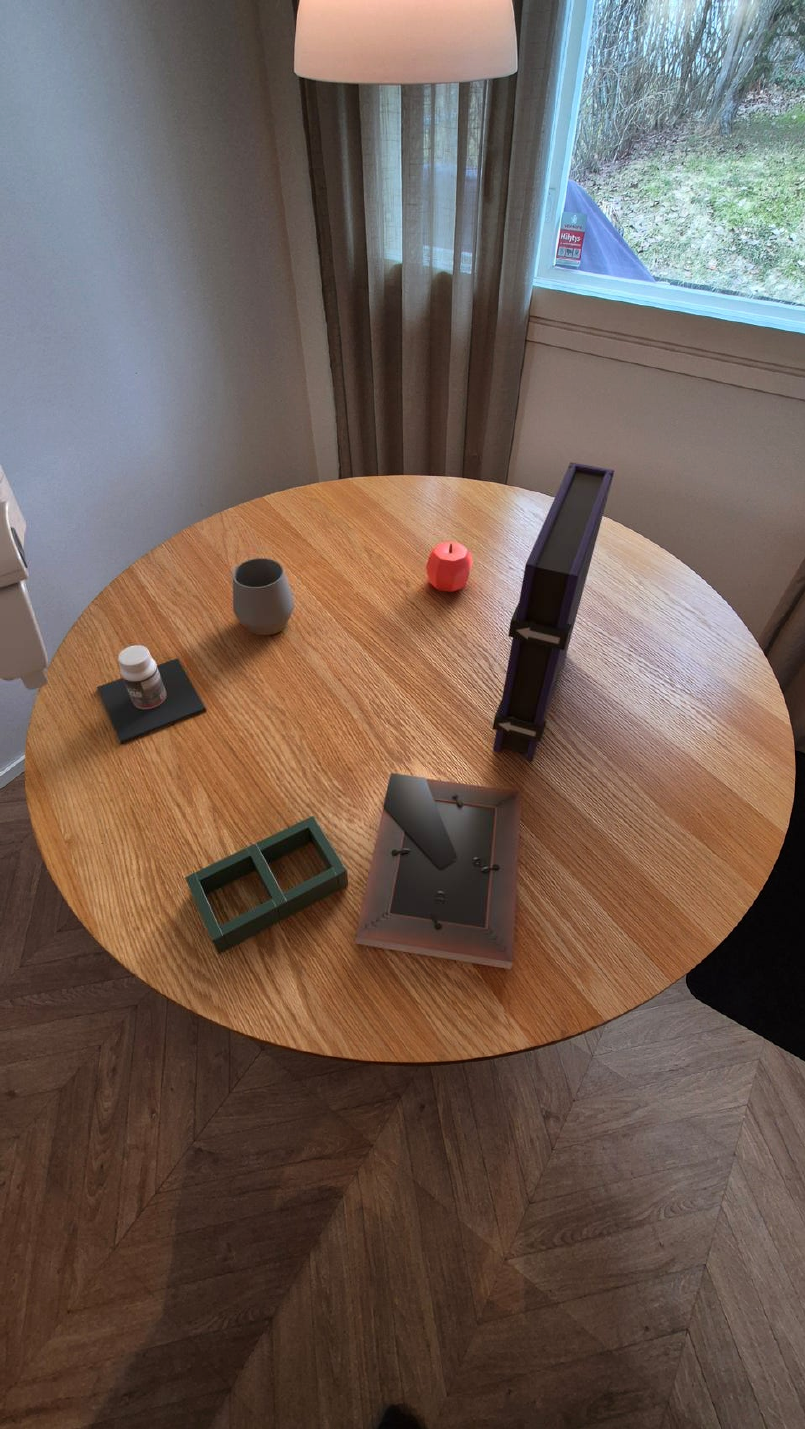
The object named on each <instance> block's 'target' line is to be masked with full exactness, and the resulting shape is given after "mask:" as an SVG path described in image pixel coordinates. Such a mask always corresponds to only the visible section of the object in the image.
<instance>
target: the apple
mask: <svg viewBox="0 0 805 1429" xmlns="http://www.w3.org/2000/svg"><path fill="white" fill-rule="evenodd" d="M473 565H474V563H473V556H472V555H471V553H470V551H469V550H468V549H467V548H466V547H465V546H464V545H463V544H461V543H459V542H454V541H445V542H442V543H441V542H440V543H439V544H436V545H435V546H434V547H433V548H432V549H431V552H430V554H429V556H428V558H427V563H426V566H425V568H426V574H427V578H428V582H429V583H430V584H431V585H432V586H433V587H434V588H435V589H436V590H438V591H441V592H449V593H450V592H451V593H453V592H455V591H458V590H461V589H464V588H466V586H467V582H468V580H469V578H470V573H471V572H472V571H471V570H472V567H473Z"/></svg>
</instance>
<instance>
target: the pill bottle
mask: <svg viewBox="0 0 805 1429" xmlns="http://www.w3.org/2000/svg"><path fill="white" fill-rule="evenodd" d="M117 660H118V663H119V666H120V667H119V673H120V676H121V678H122V679H123V681H124V683H125V686H126V688H127V690H128V693H129V695H130V697H131V700H132V702H133V704H134V705H135V706H136V707H138V708H140V709H152V708H155V707H157V706H159V705H160V704H162V703H163V702H164V700H165V698H166V690H165V687H164V685H163V682H162V679H161V676H160V673H159V671H158V668H157V665H158V664H157V662H156V661H155V659H154V658H153V657H152V655H151V653H150V651H149V649H148V647H146V646H144V645H140V644H139V645H137V644H136V645H131V646H127V647H126V648H124V649H123V650H121V651H120V652H119V654H118V656H117Z"/></svg>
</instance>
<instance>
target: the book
mask: <svg viewBox="0 0 805 1429" xmlns="http://www.w3.org/2000/svg"><path fill="white" fill-rule="evenodd" d="M614 476H615V470H614V469H609V468H605V467H599V466H593V465H588V464H582V463H578V462H577V463H576V462H570V463H569V465H568V467H567V469H566V471H565V474H564V476H563V479H562V481H561V483H560V485H559V488H558V490H557V491H556V494H555V496H554V499H553V501H552V503H551V506H550V507H549V511H548V513H547V515H546V517H545V519H544V522H543V524H542V526H541V529H540V531H539V533H538V535H537V538H536V540H535V542H534V543H533V544H534V545H533V546H532V549H531V551H530V554H529V555H528V558H527V561H526V563H525V564H524V571H523V577H522V584H521V589H520V593H519V600H518V603H517V604H516V607H515V609H514V611H513V613H512V617H511V619H510V621H509V622H510V623H509V630H508V635H507V636H508V638H512V640H511V644H510V645H511V646H510V652H509V657H508V663H507V668H506V674H505V680H504V684H503V692H502V697H501V700H500V702H499V705H498V707H497V709H496V712H495V714H494V718H493V722H492V723H493V724H492V730H495V737H494V743H493V749H492V751H493V752H494V753H497V754H499V753H500V752H501V750H502V748H505V749H509V750H513V751H517V752H520V753H524V754H526V756H525V761H526V762H528V763H532V762H533V760H534V757H535V754H536V752H537V749H538V744H539V743H541V742H542V740H543V736H544V732H545V729H546V726H547V716H548V714H549V710H550V707H551V704H552V701H553V697H554V695H555V692H556V688H557V685H558V682H559V679H560V675H561V672H562V669H563V666H564V663H565V659H566V657H567V654H568V650H569V646H570V642H571V638H572V634H573V631H574V628H575V624H576V620H577V616H578V612H579V608H580V604H581V600H582V596H583V593H584V589H585V585H586V581H587V578H588V574H589V569H590V566H591V562H592V558H593V554H594V550H595V548H596V544H597V539H598V536H599V531H600V528H601V524H602V520H603V516H604V512H605V508H606V505H607V501H608V497H609V493H610V490H611V486H612V481H613V478H614Z"/></svg>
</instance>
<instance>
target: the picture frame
mask: <svg viewBox="0 0 805 1429" xmlns="http://www.w3.org/2000/svg"><path fill="white" fill-rule="evenodd" d="M521 808H522V791H520V790H512V789H505V788H500V787H499V788H498V787H497V788H496V787H491V786H483V785H475V784H469V783H460V782H453V781H448V780H447V781H446V780H439V779H432V778H426V777H424V776H417V775H408V774H401V773H393V772H390V775H389V780H388V783H387V789H386V792H385V797H384V801H383V806H382V812H381V817H380V820H379V825H378V830H377V834H376V838H375V844H374V847H373V848H374V849H373V854H372V857H371V862H370V867H369V871H368V874H367V880H366V884H365V888H364V894H363V898H362V899H363V900H362V902H361V907H360V913H359V917H358V922H357V925H356V930H355V935H354V939H355V944H356V945H361V946H366V947H367V946H368V947H373V948H380V949H385V950H390V951H391V950H392V951H397V952H403V953H409V954H415V955H421V956H422V955H423V956H428V957H434V958H440V959H445V960H452V961H457V962H465V963H470V964H476V965H481V966H482V965H484V966H489V967H495V968H501V969H508V970H512V966H513V964H514V954H515V953H514V949H515V948H514V947H515V931H516V927H515V926H516V912H517V911H516V910H517V889H518V871H519V870H518V869H519V866H518V865H519V850H520V828H521Z"/></svg>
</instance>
